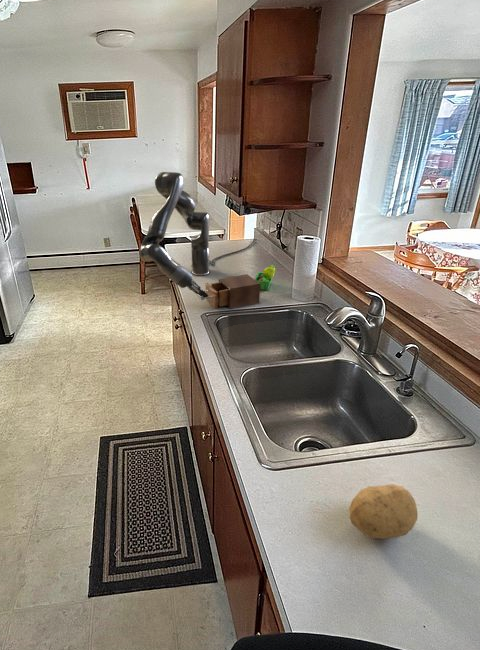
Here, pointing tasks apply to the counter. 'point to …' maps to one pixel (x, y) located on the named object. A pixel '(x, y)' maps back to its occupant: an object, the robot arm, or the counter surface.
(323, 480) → the counter surface
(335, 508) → the counter surface
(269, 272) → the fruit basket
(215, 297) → the drawer
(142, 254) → the robot arm
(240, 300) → the cabinet
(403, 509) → the potato
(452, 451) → the counter surface
